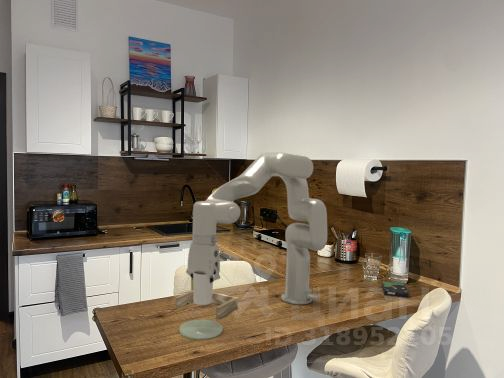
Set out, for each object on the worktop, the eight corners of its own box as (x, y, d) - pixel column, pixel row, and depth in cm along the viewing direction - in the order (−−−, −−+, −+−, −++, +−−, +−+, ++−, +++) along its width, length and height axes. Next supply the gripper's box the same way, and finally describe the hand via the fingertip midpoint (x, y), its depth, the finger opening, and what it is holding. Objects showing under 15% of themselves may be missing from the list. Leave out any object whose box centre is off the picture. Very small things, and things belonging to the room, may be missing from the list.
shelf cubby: (237, 307, 153) (238, 297, 153) (218, 319, 142) (219, 308, 141) (196, 298, 162) (196, 288, 162) (175, 307, 151) (175, 297, 150)
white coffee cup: (207, 306, 127) (209, 275, 126) (188, 303, 129) (189, 273, 128) (215, 300, 133) (216, 270, 132) (197, 297, 135) (198, 268, 134)
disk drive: (409, 299, 173) (404, 288, 187) (409, 293, 173) (404, 282, 187) (384, 296, 175) (381, 286, 190) (384, 290, 175) (381, 280, 189)
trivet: (230, 327, 135) (230, 325, 134) (206, 343, 122) (206, 341, 122) (196, 318, 141) (196, 316, 141) (170, 332, 129) (170, 330, 129)
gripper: (231, 241, 129) (229, 297, 130) (190, 235, 137) (189, 288, 138) (218, 244, 123) (216, 303, 124) (176, 238, 130) (175, 293, 131)
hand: (202, 294), depth 131 cm, fingers closed on white coffee cup, 2 cm apart
